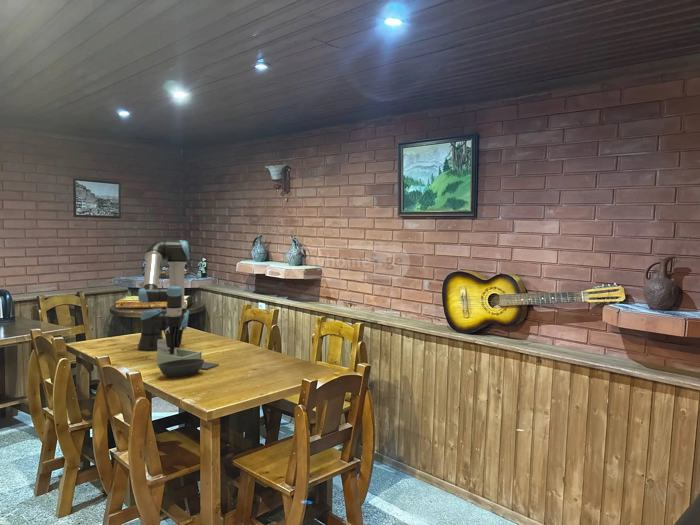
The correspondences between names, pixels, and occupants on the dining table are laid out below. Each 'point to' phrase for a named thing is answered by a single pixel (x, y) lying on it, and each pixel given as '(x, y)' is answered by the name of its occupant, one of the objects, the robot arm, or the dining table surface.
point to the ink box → (162, 347)
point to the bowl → (181, 368)
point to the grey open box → (178, 356)
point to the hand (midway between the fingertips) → (173, 359)
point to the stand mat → (208, 365)
